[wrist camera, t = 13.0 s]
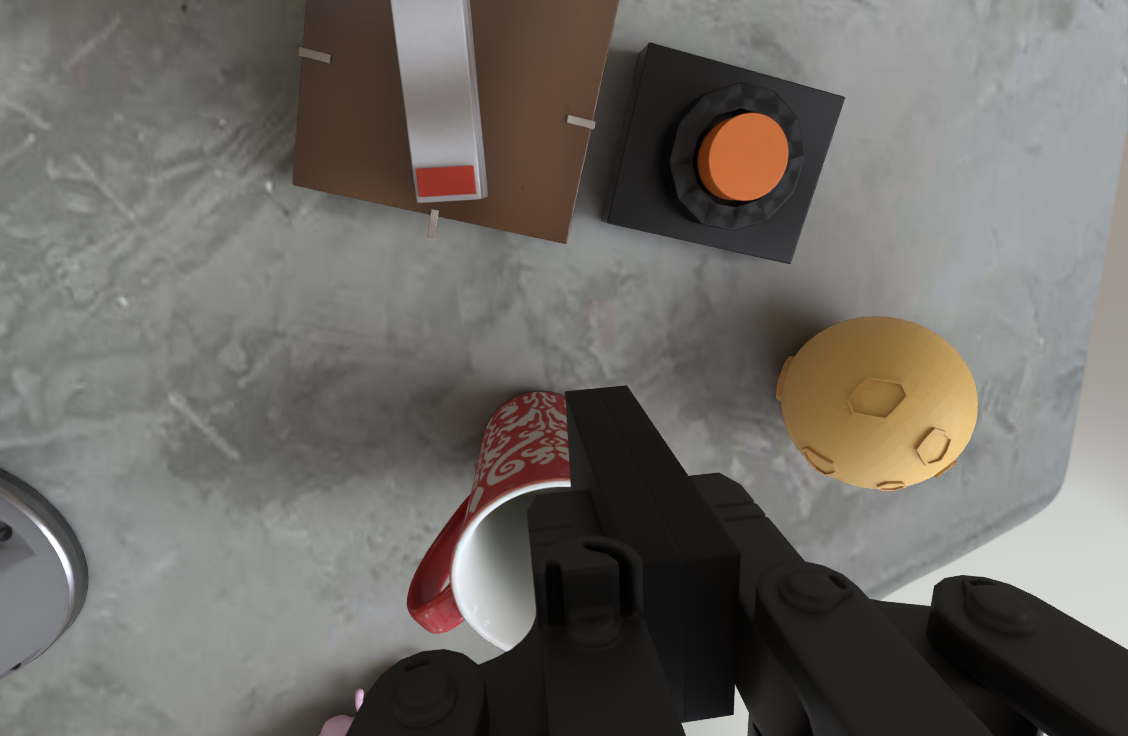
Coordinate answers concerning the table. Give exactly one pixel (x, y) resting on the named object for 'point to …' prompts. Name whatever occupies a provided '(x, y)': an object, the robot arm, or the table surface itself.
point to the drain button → (743, 157)
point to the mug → (496, 527)
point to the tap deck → (506, 98)
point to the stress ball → (878, 402)
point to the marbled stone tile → (440, 98)
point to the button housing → (673, 138)
